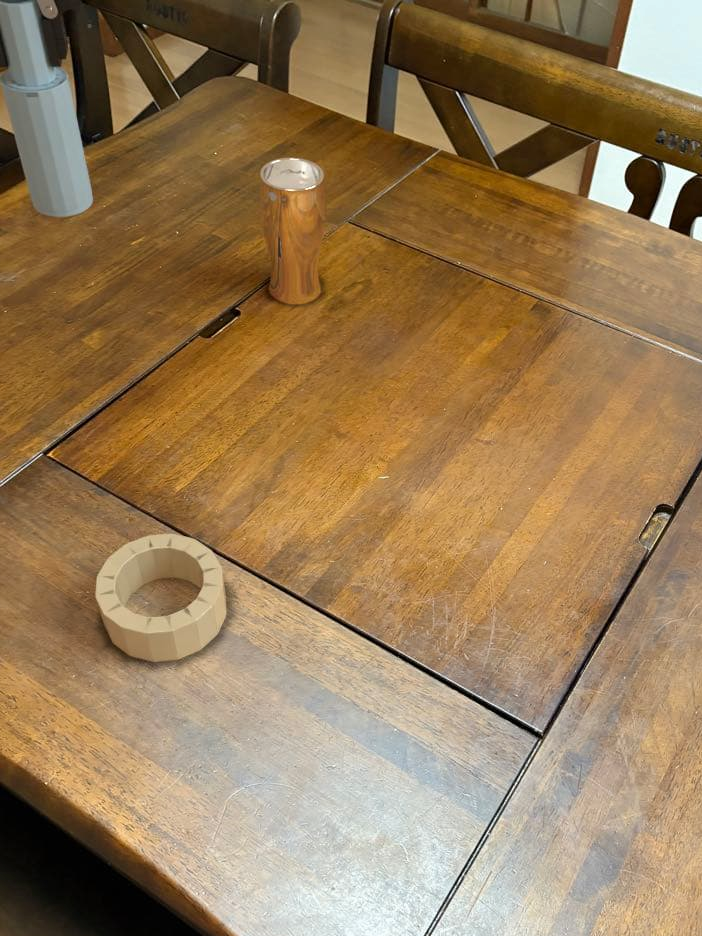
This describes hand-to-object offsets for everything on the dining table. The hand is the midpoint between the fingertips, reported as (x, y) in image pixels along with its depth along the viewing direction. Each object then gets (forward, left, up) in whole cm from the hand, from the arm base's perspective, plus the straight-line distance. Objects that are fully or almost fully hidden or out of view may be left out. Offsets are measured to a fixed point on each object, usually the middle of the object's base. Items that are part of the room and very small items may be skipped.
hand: (30, 62), depth 73 cm
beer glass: (+21, +10, -30) cm, 38 cm away
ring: (+7, -34, -30) cm, 46 cm away
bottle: (0, 0, -12) cm, 12 cm away
